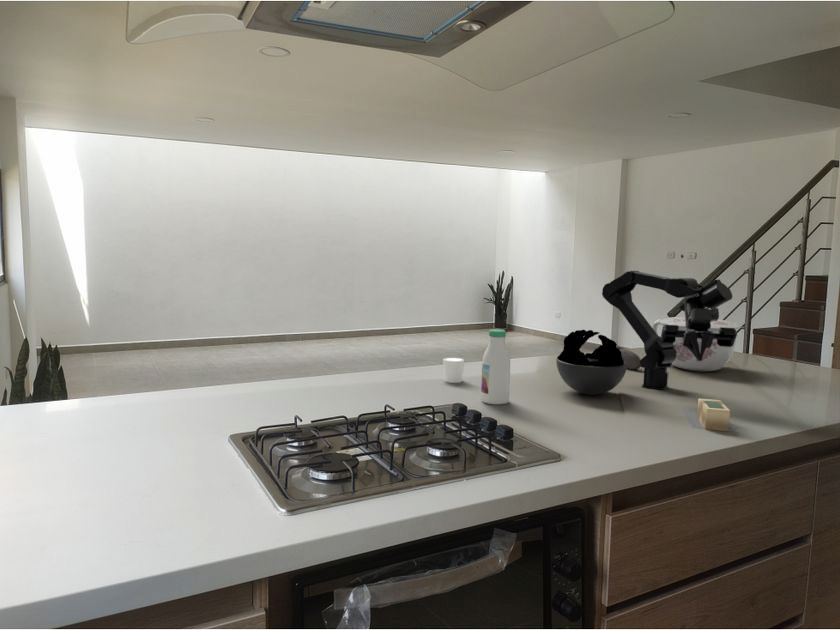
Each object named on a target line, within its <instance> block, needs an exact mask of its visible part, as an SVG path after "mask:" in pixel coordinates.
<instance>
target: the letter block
mask: <svg viewBox="0 0 840 630" xmlns="http://www.w3.org/2000/svg"><path fill="white" fill-rule="evenodd" d="M696 410H697V418H698V420H699V421H700V423H701V424H702V426H703V427H704V428H705V429H704V430H707V431H709V430H711V431H721V432H722V431H723V432H729V431H728V428H729V421H730V414H731V410H730V409H729V408H728V407H727V406H726V404H724V403H723V402H722V400H720V399H711V398H709V399H708V398H698V400H697V409H696Z"/></svg>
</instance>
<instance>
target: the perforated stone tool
mask: <svg viewBox="0 0 840 630" xmlns="http://www.w3.org/2000/svg"><path fill="white" fill-rule="evenodd" d="M616 347H617V348H619V350H620V351H621V355H622V358H623V361H625V362H627V369H626V370H632V371H634V370H635V371H636V370H639V369H640V368H642V367H641V365H640V360H641V358H640V356H639V355H638V354H637V353H635V352H633V351H631V350H630V349H627V348H623V347H621V346H620V347H618V346H616Z"/></svg>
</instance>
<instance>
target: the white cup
mask: <svg viewBox="0 0 840 630" xmlns="http://www.w3.org/2000/svg"><path fill="white" fill-rule="evenodd" d="M442 364H443V378H444V379H443V380H444V382H445V383H449V384H450V383H451V384H452V383H453V384H454V383H455V384H459V383H462V382H463V377H464V369H465V358H462V357H461V358H460V357H445V358H443V359H442Z"/></svg>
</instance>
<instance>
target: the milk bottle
mask: <svg viewBox="0 0 840 630" xmlns="http://www.w3.org/2000/svg"><path fill="white" fill-rule="evenodd" d="M506 336H507V331H506V330H505V329H494V328H493V329H489V331H488V339H489V342H488V345H487V347H486V349H485V351H484V354H483V356H482V368H481V389H480V390H481V391H480V392H481V393H480V397H481V398H480V400H481V402H482V403H485V404H489V405H497V406H499V405H507V404H508V403H509V401H510V391H511V390H510V389H511V388H510V385H511V357H510V353H509V351H508V348H507V346H506Z"/></svg>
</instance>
